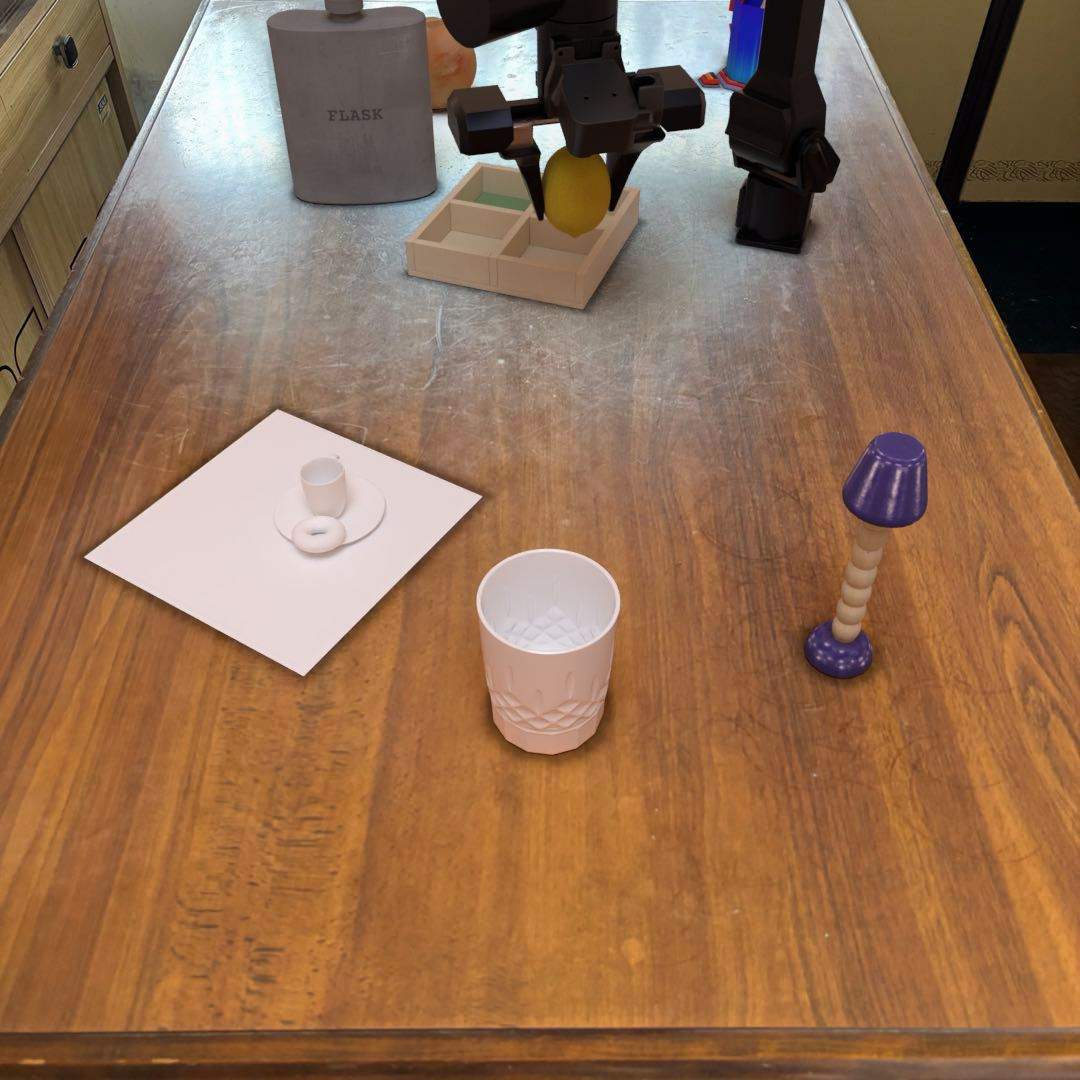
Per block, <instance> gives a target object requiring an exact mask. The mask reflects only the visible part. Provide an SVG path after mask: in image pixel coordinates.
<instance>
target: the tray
mask: <svg viewBox="0 0 1080 1080" xmlns="http://www.w3.org/2000/svg"><path fill="white" fill-rule="evenodd" d="M543 172H544V171H540V173H541V181H542V176H543ZM640 200H641V188H637V187H632V186H626V185H625V187H624V189H623V191H622V194H621V196H620V198H619V201H618V203H617V205H616V208H615V210H614V211H613V212H609V211H608V210H607V213H606V215H605V217H604V219H603V220H602V222H601V223H600V224H599V225H598V226H597V227H596V228H594V229H593V230H591V231H590V232H587V233H585V234H582V235H581V236H579V237H578V238H572V237H571V236H570V235H569V234H566V233H563V232H561V231H559V230H558V229H556V228H555V227H554V226H553V225H552V224H551V223H550V222H549V220H548V219H547V217H546V215H545V213H544V220H543V221H538V219H537V216H536V214H535V211H534V209H533V206H532V203H531V200H530V198H529V195H528V192H527V189H526V187H525V184H524V181H523V179H522V176H521V173H520V171H519V168H518V167H513V166H506V165H500V164H495V163H494V164H493V163H489V162H488V163H487V162H481V161H477V162H476V163H475V164H474V165H473V166H472V167H471V168H470V170H469V171H468V172H467V173H466V174H465V175H464V176H463V178H461V180H460V181H459V182H457V184H456V185H455V186H454V187H453V188H452V189H451V190H450V192H448V194H447V195H445V197H444V198H443V199H442V200H441V202H439V204H438V205H437V206H436V207H435V208H434V209H433V210H432V211H431V212H430V213H429V214H428V216H427V217H426V218H425V219H424V220H423V221H422V222H421V223H420V224H419V226H417V227H416V229H415V230H414V231H413V232H412V233H411V234H410V235H409V236H408V237H407V239H405V241H404V243H405V251H406V262H407V272H408V273H407V274H408V276H411V277H416V278H421V279H426V280H430V281H435V282H440V283H441V282H442V283H446V284H450V285H457V286H461V287H466V288H471V289H477V290H481V291H487V292H491V293H496V294H502V295H506V296H512V297H517V298H521V299H527V300H531V301H537V302H541V303H548V304H552V305H558V306H562V307H567V308H573V309H576V310H577V309H578V310H584V309H585V308H586V306H587V304H588V303H589V301H590V299H591V298H592V297H593V295H594V293H595V292H596V290H597V288H598V287H599V285H600V284H601V283H602V282H601V281H602V280H603V279H604V277H605V276H606V274H607V272H608V271H609V269H610V268H611V266H612V264H613V263H614V261H615V260H616V258H617V256H618V255H619V254H620V251H621V250H622V249H623V247H624V245H625V243H626V242H627V240H628V239H629V237H630V236H631V234H632V232H633V231H634V229H635V228H636V227H637V224H638V223H639V217H640V216H639V215H640Z"/></svg>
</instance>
